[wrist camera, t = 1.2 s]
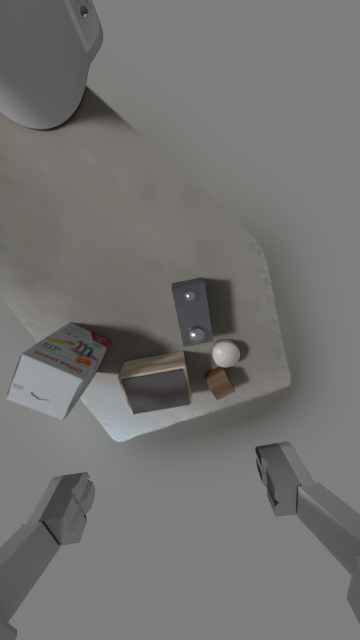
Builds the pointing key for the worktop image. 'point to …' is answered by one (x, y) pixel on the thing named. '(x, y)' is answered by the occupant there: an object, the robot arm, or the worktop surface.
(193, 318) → the block
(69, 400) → the ink box
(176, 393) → the stand
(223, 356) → the white egg shape
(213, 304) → the worktop surface
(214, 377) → the walnut block
